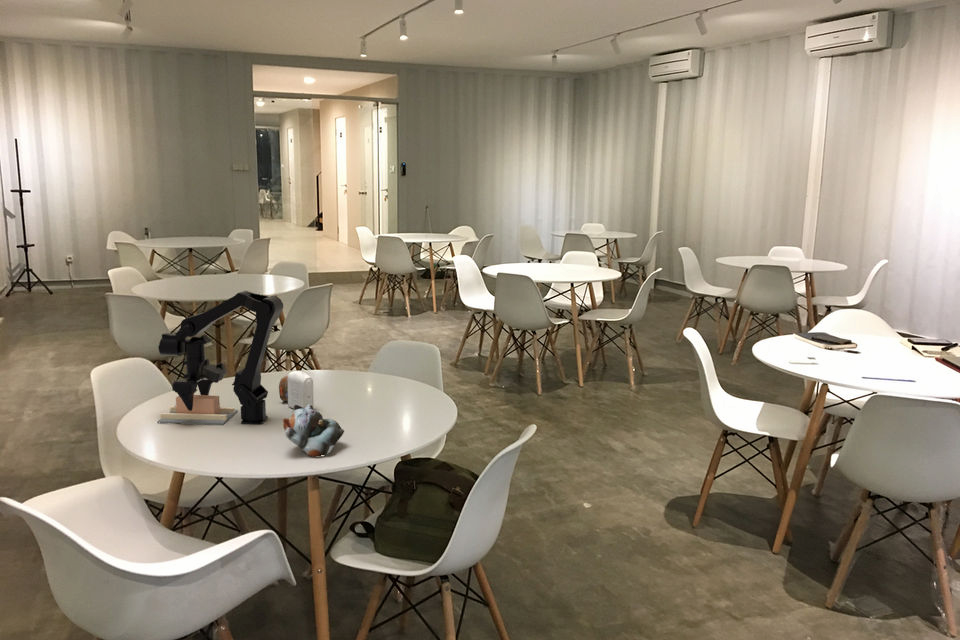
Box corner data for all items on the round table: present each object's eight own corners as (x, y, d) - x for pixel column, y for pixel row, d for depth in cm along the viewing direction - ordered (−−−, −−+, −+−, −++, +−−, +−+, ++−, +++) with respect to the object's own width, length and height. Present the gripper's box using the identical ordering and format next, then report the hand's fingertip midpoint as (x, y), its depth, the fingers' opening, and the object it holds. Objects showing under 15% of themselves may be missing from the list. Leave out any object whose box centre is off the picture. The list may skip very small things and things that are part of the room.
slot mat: (237, 411, 242) (237, 405, 242) (223, 424, 229) (223, 418, 229) (175, 410, 242) (174, 403, 242) (157, 423, 230) (156, 416, 229)
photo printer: (315, 411, 244) (314, 373, 242) (304, 414, 241) (303, 376, 239) (297, 404, 251) (296, 367, 249) (286, 406, 248) (285, 370, 246)
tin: (286, 404, 251) (285, 380, 249) (277, 404, 251) (276, 379, 250) (305, 392, 265) (305, 369, 264) (297, 391, 266) (296, 368, 264)
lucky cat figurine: (324, 461, 202) (296, 418, 198) (293, 469, 208) (266, 428, 205) (352, 429, 214) (327, 388, 211) (322, 438, 220) (297, 398, 217)
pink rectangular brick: (183, 412, 238) (182, 394, 237) (220, 414, 237) (219, 395, 236) (176, 416, 234) (175, 397, 233) (214, 418, 233) (213, 399, 232)
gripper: (205, 365, 222) (208, 416, 225) (234, 351, 240) (236, 399, 243) (169, 363, 224) (172, 414, 226) (200, 349, 242) (202, 397, 245)
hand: (197, 406), depth 235 cm, fingers open, 9 cm apart
